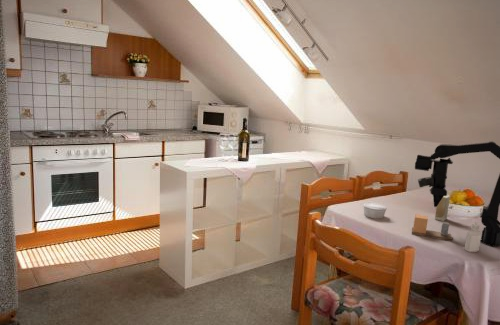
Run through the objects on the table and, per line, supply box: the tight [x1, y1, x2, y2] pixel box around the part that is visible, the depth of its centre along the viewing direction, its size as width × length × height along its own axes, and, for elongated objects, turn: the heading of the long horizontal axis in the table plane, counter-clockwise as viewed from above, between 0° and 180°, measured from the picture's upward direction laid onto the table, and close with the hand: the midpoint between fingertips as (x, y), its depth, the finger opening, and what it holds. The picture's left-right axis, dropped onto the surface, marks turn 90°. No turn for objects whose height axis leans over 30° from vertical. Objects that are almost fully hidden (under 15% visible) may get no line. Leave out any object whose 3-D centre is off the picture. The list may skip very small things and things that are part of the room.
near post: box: [440, 221, 450, 237], centre depth 177 cm, size 3×3×6 cm
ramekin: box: [363, 202, 387, 220], centre depth 203 cm, size 11×11×5 cm
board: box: [411, 227, 453, 242], centre depth 179 cm, size 16×7×1 cm, turn 67°
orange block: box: [413, 213, 429, 234], centre depth 180 cm, size 5×5×7 cm
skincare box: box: [434, 194, 451, 222], centre depth 203 cm, size 6×4×12 cm
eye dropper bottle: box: [464, 221, 482, 253], centre depth 163 cm, size 4×6×12 cm
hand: (435, 206), depth 183 cm, fingers closed
